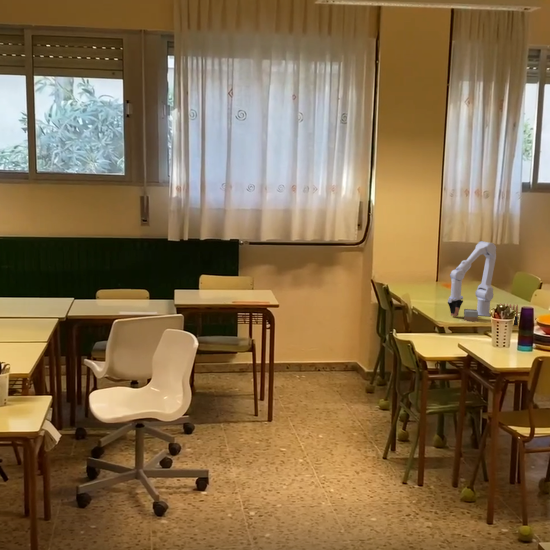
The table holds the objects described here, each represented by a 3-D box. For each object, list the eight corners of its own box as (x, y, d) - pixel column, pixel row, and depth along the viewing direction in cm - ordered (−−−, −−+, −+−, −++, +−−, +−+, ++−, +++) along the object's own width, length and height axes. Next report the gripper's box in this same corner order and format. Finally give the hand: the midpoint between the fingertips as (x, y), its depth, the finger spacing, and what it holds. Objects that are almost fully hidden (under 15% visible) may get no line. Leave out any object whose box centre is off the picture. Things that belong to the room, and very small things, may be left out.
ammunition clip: (517, 324, 393) (518, 304, 391) (517, 325, 391) (519, 304, 389) (497, 323, 395) (499, 302, 393) (497, 324, 393) (499, 303, 391)
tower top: (463, 313, 406) (464, 308, 406) (476, 314, 405) (476, 309, 404) (465, 316, 399) (465, 311, 399) (477, 317, 398) (478, 312, 398)
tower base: (463, 318, 407) (464, 313, 406) (476, 319, 405) (476, 314, 405) (464, 321, 400) (464, 316, 399) (477, 322, 399) (477, 317, 398)
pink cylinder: (450, 314, 412) (451, 306, 411) (458, 314, 411) (458, 307, 410) (450, 315, 407) (451, 308, 407) (458, 316, 407) (459, 308, 406)
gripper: (456, 287, 415) (454, 309, 417) (443, 290, 404) (442, 313, 406) (466, 289, 410) (465, 311, 412) (454, 292, 399) (453, 315, 402)
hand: (454, 312), depth 409 cm, fingers closed on pink cylinder, 4 cm apart
